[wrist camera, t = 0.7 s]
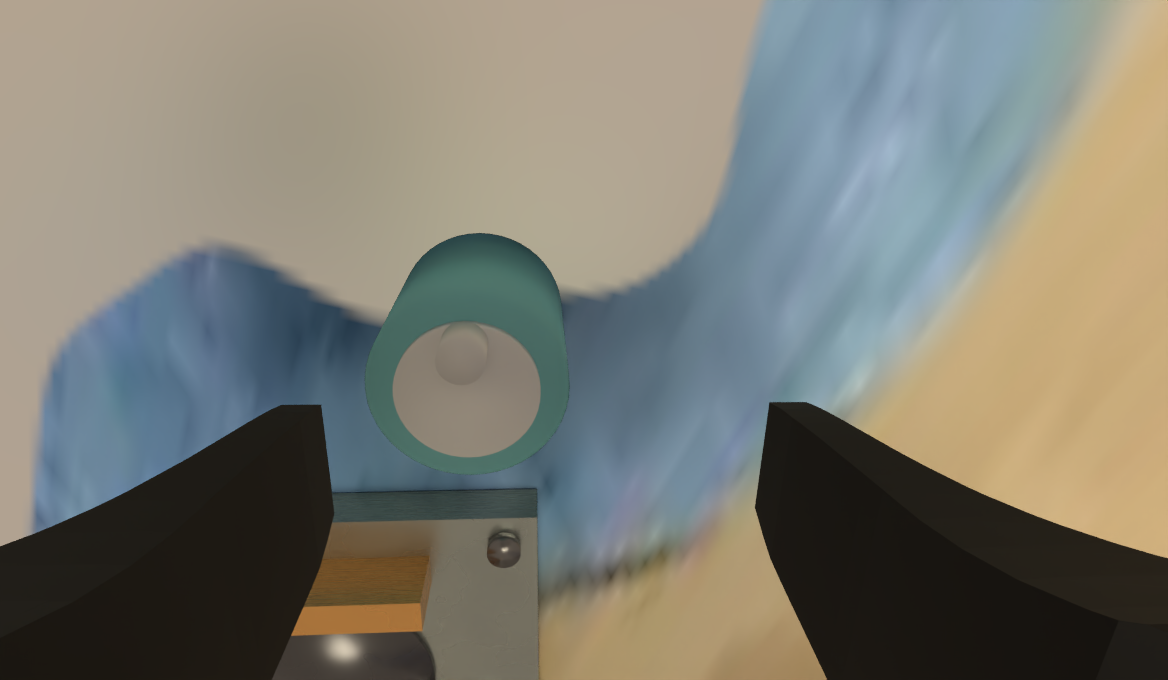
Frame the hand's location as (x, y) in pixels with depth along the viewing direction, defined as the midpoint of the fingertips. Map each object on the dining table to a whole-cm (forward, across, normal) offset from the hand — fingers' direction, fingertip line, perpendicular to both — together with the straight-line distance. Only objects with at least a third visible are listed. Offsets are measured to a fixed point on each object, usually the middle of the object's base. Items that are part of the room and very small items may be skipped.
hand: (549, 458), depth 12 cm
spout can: (+10, +2, +1) cm, 10 cm away
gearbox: (+10, +6, +13) cm, 17 cm away
